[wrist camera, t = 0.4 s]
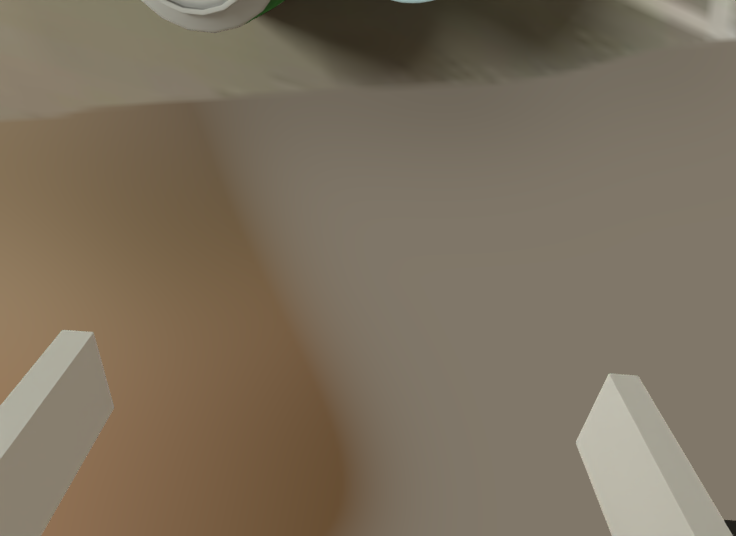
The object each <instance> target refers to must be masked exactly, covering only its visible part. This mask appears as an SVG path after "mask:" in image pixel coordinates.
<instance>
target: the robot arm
mask: <svg viewBox="0 0 736 536" xmlns="http://www.w3.org/2000/svg"><path fill="white" fill-rule="evenodd" d="M113 409H114V405H113V401H112V398H111V394H110V391H109V387H108V383H107V380H106V376H105V373H104V369H103V365H102V361H101V358H100V355H99V351H98V347H97V343H96V340H95V336H94V333H93V332H83V331H71V330H70V331H69V330H62V331H61V332H60V333H59V335H58V336H57V337H56V338H55V340H54V341H53V342H52V343H51V345H50V346H49V347H48V348H47V349H46V351H45V352H44V353H43V354H42V355H41V357H40V358H39V359H38V360H37V362H36V363H35V364H34V365H33V366H32V368H31V369H30V370H29V371H28V373H27V374H26V375H25V376H24V377H23V379H22V380H21V381H20V383H19V384H18V385H17V386H16V387H15V388H14V390H13V391H12V392H11V393H10V394H9V396H8V397H7V398H6V399H5V401H4V402H3V403H2V404H1V405H0V536H41V535H42V533H43V531H44V530H45V528H46V526H47V524H48V523H49V521H50V519H51V517H52V516H53V514H54V512H55V510H56V509H57V507H58V505H59V503H60V502H61V500H62V498H63V496H64V495H65V493H66V491H67V489H68V488H69V486H70V484H71V482H72V481H73V479H74V477H75V475H76V474H77V472H78V470H79V468H80V467H81V465H82V463H83V461H84V459H85V458H86V456H87V454H88V453H89V451H90V449H91V447H92V445H93V444H94V442H95V440H96V439H97V437H98V435H99V433H100V432H101V430H102V428H103V426H104V425H105V423H106V421H107V419H108V418H109V416H110V414H111V412H112V411H113ZM576 445H577V447H578V450H579V452H580V455H581V457H582V460H583V463H584V465H585V467H586V470H587V473H588V475H589V478H590V481H591V483H592V486H593V488H594V491H595V493H596V496H597V499H598V501H599V504H600V506H601V509H602V511H603V514H604V516H605V519H606V522H607V524H608V527H609V529H610V532H611V535H612V536H736V521H732V520H723V518H722V517H721V515H720V513H719V511H718V510H717V508H716V506H715V505H714V503H713V501H712V500H711V498H710V496H709V495H708V493H707V491H706V490H705V488H704V486H703V485H702V483H701V481H700V479H699V478H698V476H697V474H696V473H695V471H694V469H693V467H692V466H691V464H690V462H689V461H688V459H687V458H686V456H685V454H684V452H683V451H682V449H681V447H680V446H679V444H678V442H677V440H676V439H675V437H674V436H673V434H672V432H671V430H670V429H669V427H668V425H667V424H666V422H665V420H664V419H663V417H662V415H661V414H660V412H659V410H658V408H657V407H656V405H655V403H654V402H653V400H652V398H651V397H650V395H649V393H648V392H647V390H646V388H645V387H644V385H643V383H642V381H641V380H640V378H639V376H636V375H623V374H610V373H609V375H608V376H607V379H606V381H605V383H604V385H603V387H602V389H601V391H600V393H599V395H598V397H597V400H596V401H595V403H594V405H593V408H592V410H591V412H590V414H589V416H588V418H587V420H586V422H585V424H584V426H583V428H582V430H581V432H580V435H579V437H578V439H577V441H576Z"/></svg>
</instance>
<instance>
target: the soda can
mask: <svg viewBox="0 0 736 536" xmlns="http://www.w3.org/2000/svg"><path fill="white" fill-rule="evenodd" d="M141 1H142V2H144V3H145V4H146V5H147V6H148V7H150V8H151V9H152V10H153V11H154V12H156V13H157V14H158V15H159V16H160V17H162V18H163V19H165V20H168V21H170V22H172V23H174V24H176V25H179V26H181V27H183V28H185V29H188V30H193V31H202V32H211V33H217V32H221V31H225V30H229V29H233V28H238V27H241V26H242V25H244V24H246V23H248V22H249V21H251V20H253V19H255V18H257V17H258V16H260V15H262V14H264V13H265V12H267V11H269V10H271V9H273V8H274V7H276V6H278V5H279V4H281V3H282V2H283V1H285V0H141Z"/></svg>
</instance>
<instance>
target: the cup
mask: <svg viewBox="0 0 736 536" xmlns="http://www.w3.org/2000/svg"><path fill="white" fill-rule="evenodd" d="M392 1H397V2H401V3H424V2H430V1H434V0H392Z"/></svg>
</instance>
